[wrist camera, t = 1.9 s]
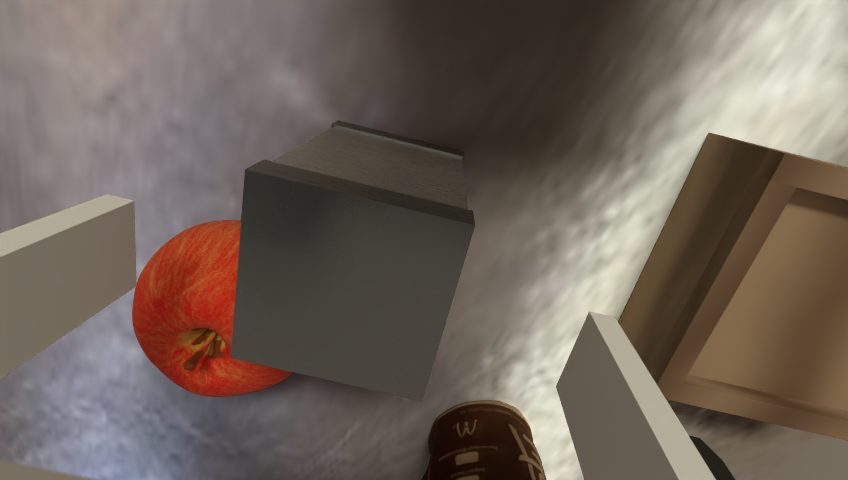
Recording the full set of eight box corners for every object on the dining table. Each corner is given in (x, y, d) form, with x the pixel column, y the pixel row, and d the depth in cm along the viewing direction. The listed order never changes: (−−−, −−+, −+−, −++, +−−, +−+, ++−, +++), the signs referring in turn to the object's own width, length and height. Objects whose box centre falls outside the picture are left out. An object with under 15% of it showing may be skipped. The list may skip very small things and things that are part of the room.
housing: (320, 236, 23) (230, 358, 13) (338, 120, 20) (245, 169, 11) (433, 263, 23) (422, 401, 14) (463, 151, 20) (475, 225, 11)
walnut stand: (612, 333, 24) (650, 395, 19) (709, 132, 20) (785, 153, 15) (803, 377, 24) (883, 448, 20) (937, 190, 20) (1077, 227, 15)
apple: (273, 170, 21) (180, 228, 14) (368, 295, 24) (331, 401, 16) (160, 248, 23) (26, 334, 16) (258, 356, 26) (180, 475, 18)
